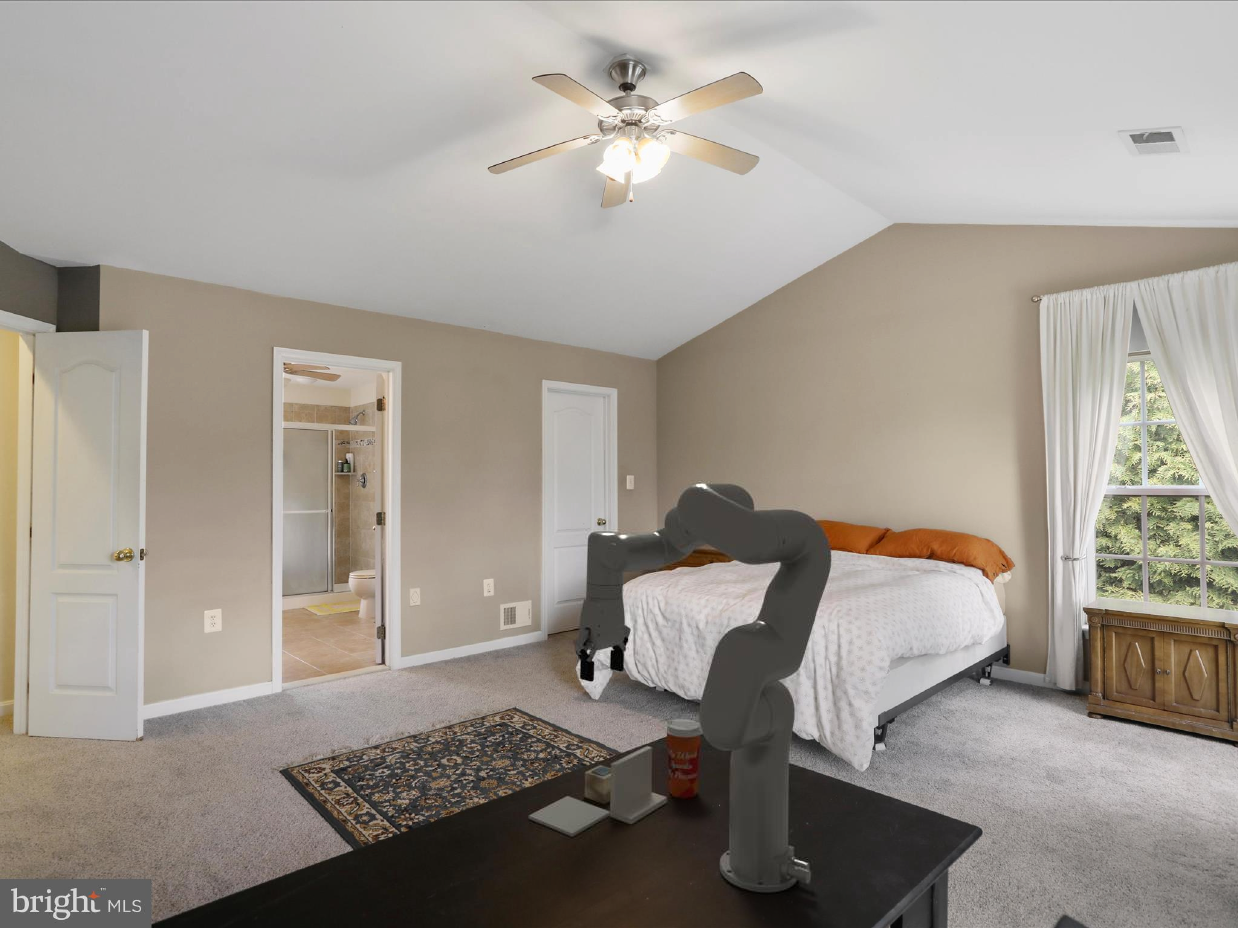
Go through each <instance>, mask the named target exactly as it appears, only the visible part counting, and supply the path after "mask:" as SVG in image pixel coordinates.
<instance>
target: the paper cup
mask: <svg viewBox="0 0 1238 928" xmlns="http://www.w3.org/2000/svg"><path fill="white" fill-rule="evenodd" d="M665 733H666V748H667V749H666V750H667V763H668V764H667V765H668V767H667V768H668V769H667V770H668V786H669V793H670V795H671V794H672V795H671V796H673V797H675V798H678V797H679V799H690V798H689V797H691V798H693V796H694V797H696V796H697V792H698V783H699V767H700V753H701V752H700V750H701V736H702V734H703V733H702V730H701V726H700V722H697V721H695V720H692V719H685V718H680V719H679V718H678V719H672V720H670V721H669V722H668V724H667V725H666V727H665Z"/></svg>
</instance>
